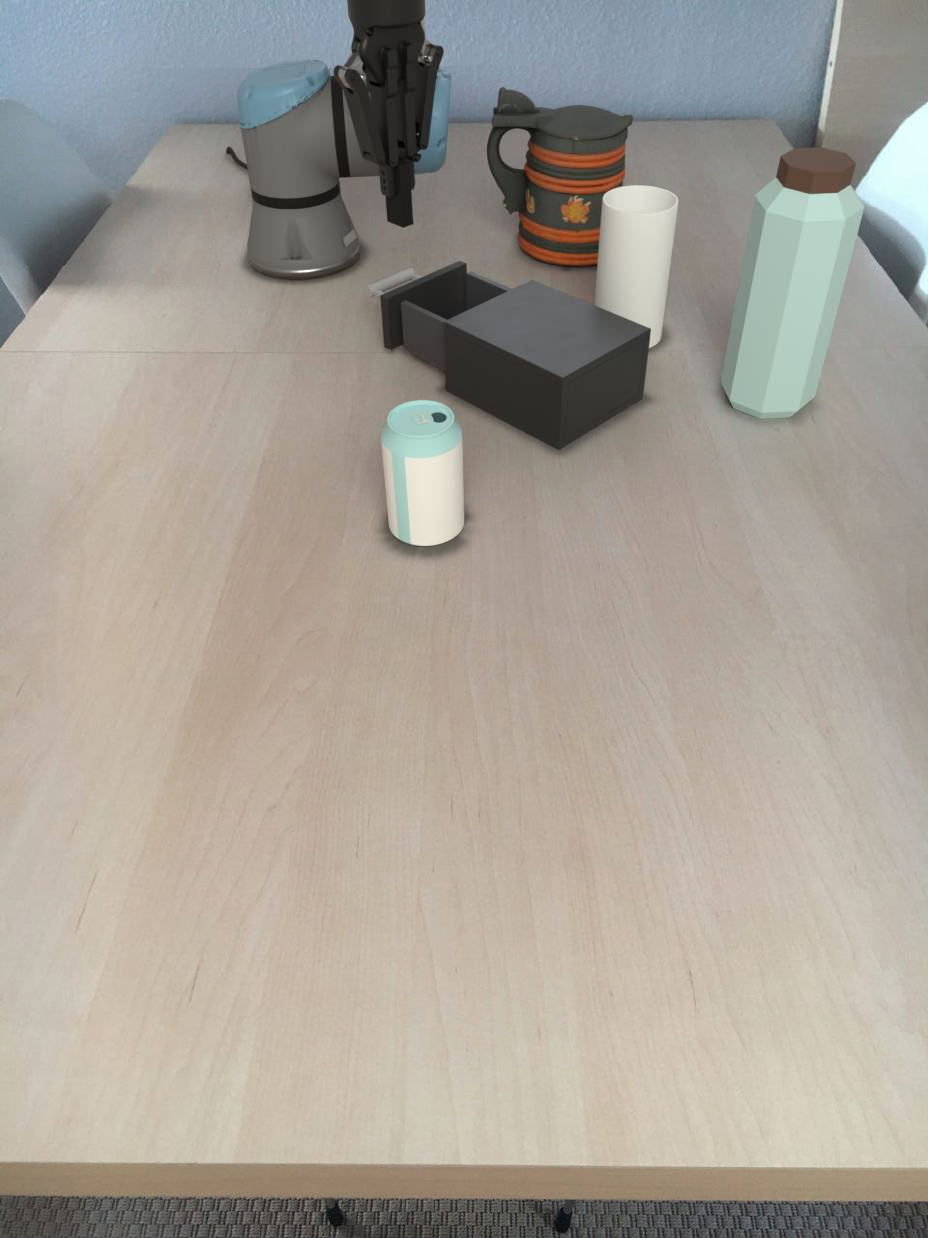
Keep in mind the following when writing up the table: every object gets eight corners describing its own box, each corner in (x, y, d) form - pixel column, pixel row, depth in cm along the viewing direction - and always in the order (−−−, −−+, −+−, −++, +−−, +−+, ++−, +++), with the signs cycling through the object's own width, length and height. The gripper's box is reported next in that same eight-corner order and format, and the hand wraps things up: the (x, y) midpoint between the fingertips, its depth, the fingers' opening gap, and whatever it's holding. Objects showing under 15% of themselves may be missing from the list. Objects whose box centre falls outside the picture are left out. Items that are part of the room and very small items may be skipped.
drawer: (349, 329, 119) (344, 278, 114) (426, 294, 125) (423, 244, 121) (478, 395, 107) (477, 341, 103) (555, 354, 114) (558, 301, 109)
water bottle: (816, 383, 110) (877, 146, 92) (808, 430, 103) (872, 184, 86) (725, 369, 112) (768, 136, 95) (711, 415, 105) (755, 173, 88)
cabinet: (445, 390, 110) (443, 321, 104) (530, 346, 117) (532, 279, 111) (558, 450, 101) (562, 378, 96) (642, 398, 108) (651, 328, 102)
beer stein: (487, 270, 132) (487, 108, 118) (486, 225, 143) (486, 72, 129) (630, 268, 132) (646, 105, 118) (618, 223, 142) (632, 69, 128)
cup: (659, 354, 115) (676, 216, 104) (588, 348, 116) (598, 211, 105) (663, 320, 121) (680, 186, 110) (596, 315, 122) (606, 182, 111)
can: (419, 495, 96) (413, 386, 88) (479, 521, 93) (478, 410, 85) (373, 533, 92) (362, 422, 84) (434, 561, 89) (428, 449, 81)
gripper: (357, -9, 89) (377, 249, 105) (461, -33, 95) (465, 214, 111) (305, -21, 93) (333, 230, 109) (408, -43, 99) (420, 197, 115)
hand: (400, 222), depth 110 cm, fingers closed
